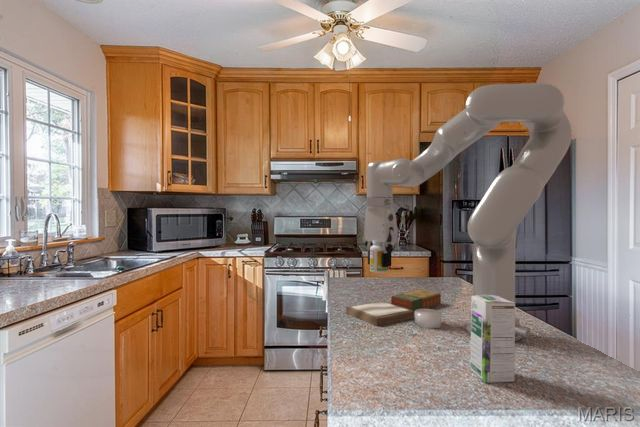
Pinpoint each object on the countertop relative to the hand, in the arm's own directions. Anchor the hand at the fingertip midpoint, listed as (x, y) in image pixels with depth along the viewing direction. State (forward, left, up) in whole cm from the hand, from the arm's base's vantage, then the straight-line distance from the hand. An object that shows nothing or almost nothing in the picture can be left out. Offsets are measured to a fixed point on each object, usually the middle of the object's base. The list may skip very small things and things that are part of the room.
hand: (379, 264), depth 106 cm
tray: (0, 0, -15) cm, 15 cm away
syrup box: (-41, +8, -15) cm, 45 cm away
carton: (+3, -18, -16) cm, 24 cm away
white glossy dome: (-13, -6, -15) cm, 21 cm away
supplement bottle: (0, 0, -2) cm, 2 cm away
